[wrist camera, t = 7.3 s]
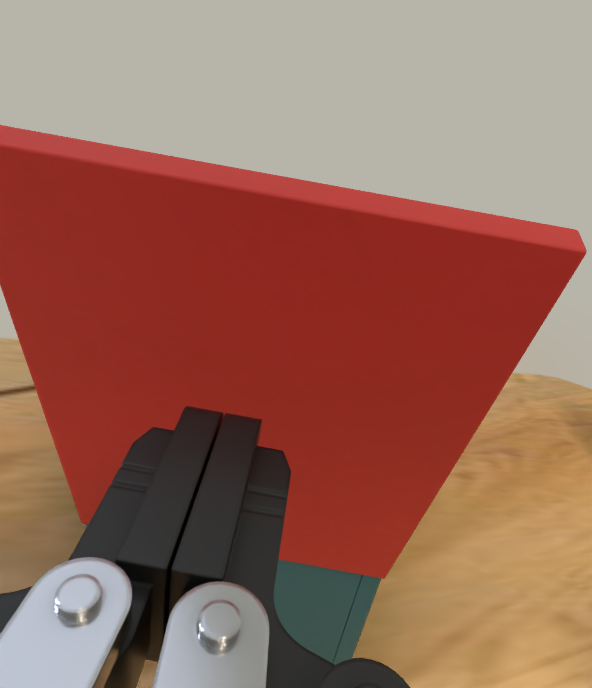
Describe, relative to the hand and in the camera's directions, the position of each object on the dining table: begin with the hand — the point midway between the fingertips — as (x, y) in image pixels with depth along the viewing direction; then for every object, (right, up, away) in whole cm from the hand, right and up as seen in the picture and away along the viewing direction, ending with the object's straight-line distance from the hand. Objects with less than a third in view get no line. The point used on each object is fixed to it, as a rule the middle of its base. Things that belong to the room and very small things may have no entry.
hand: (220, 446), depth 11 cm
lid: (0, 0, +6) cm, 6 cm away
